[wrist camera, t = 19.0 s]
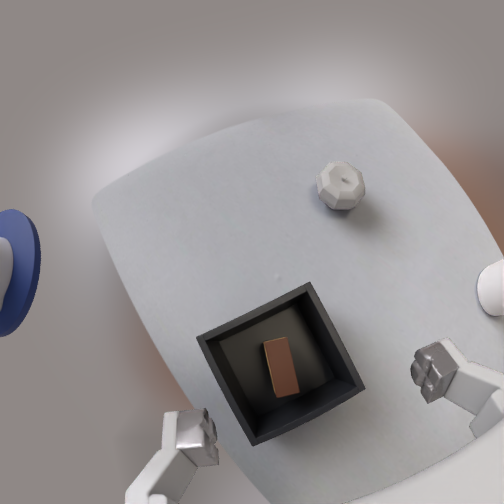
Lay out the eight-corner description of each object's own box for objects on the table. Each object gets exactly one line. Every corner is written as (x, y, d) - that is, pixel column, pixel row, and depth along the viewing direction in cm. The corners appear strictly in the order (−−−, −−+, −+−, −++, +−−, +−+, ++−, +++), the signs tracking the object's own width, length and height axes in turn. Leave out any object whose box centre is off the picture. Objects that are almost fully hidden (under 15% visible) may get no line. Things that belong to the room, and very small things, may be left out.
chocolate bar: (272, 384, 37) (276, 398, 27) (263, 342, 39) (263, 341, 29) (290, 380, 37) (300, 392, 27) (280, 338, 39) (287, 336, 29)
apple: (305, 210, 46) (311, 189, 39) (317, 171, 48) (324, 148, 42) (352, 226, 45) (365, 208, 38) (361, 186, 47) (373, 165, 41)
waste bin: (254, 422, 36) (252, 446, 26) (212, 339, 40) (195, 337, 30) (340, 378, 38) (365, 388, 27) (298, 296, 42) (310, 281, 31)
